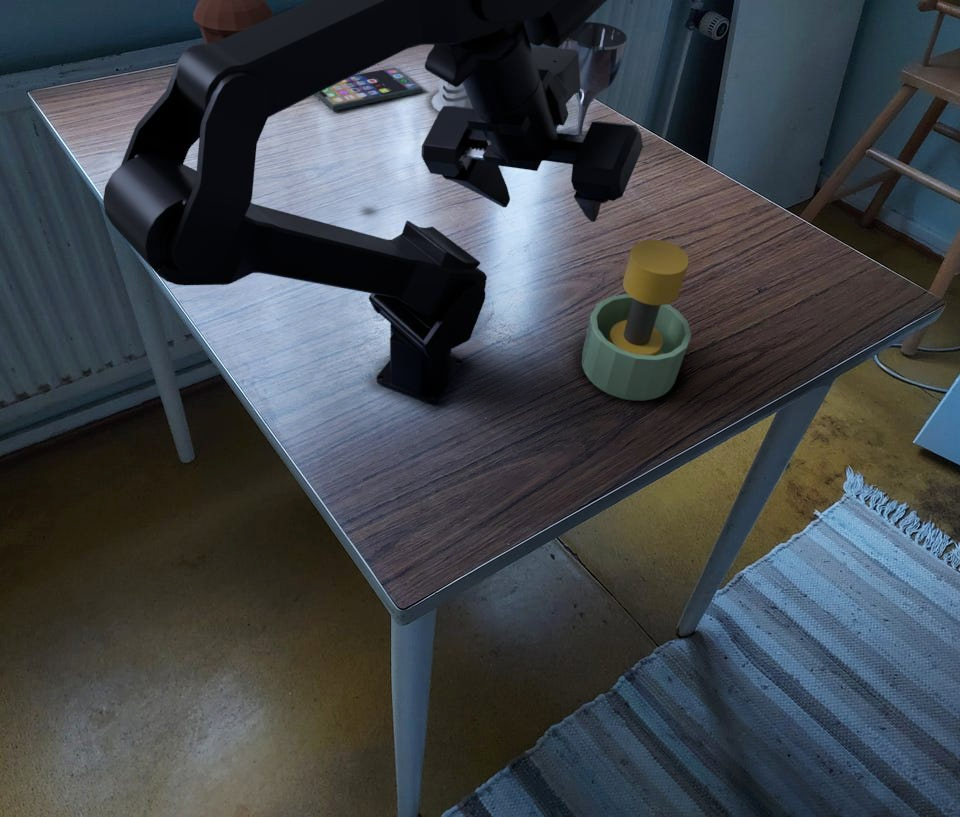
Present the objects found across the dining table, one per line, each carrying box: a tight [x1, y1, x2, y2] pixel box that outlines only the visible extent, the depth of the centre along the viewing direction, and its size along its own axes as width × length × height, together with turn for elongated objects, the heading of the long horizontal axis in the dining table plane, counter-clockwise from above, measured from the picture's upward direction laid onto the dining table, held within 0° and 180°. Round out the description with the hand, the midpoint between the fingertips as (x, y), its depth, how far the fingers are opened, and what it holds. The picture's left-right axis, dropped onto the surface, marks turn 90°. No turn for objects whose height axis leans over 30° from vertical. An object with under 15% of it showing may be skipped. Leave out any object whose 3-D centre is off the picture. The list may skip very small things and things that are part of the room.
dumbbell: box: [608, 239, 690, 356], centre depth 74 cm, size 5×5×13 cm
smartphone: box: [314, 67, 424, 111], centre depth 117 cm, size 8×15×1 cm, turn 125°
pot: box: [581, 293, 692, 402], centre depth 77 cm, size 10×10×6 cm
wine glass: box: [561, 21, 628, 136], centre depth 105 cm, size 8×8×15 cm
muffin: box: [192, 0, 275, 44], centre depth 118 cm, size 12×11×10 cm
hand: (549, 210), depth 74 cm, fingers open, 9 cm apart
